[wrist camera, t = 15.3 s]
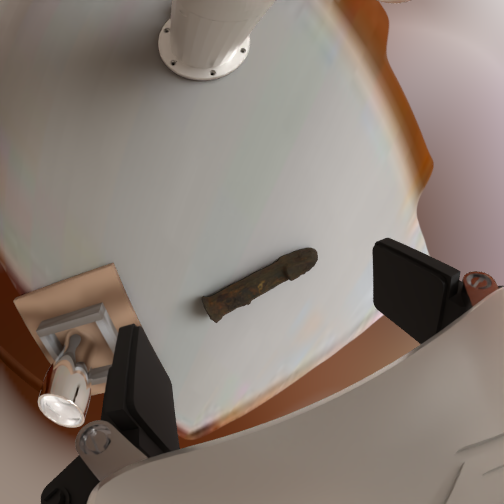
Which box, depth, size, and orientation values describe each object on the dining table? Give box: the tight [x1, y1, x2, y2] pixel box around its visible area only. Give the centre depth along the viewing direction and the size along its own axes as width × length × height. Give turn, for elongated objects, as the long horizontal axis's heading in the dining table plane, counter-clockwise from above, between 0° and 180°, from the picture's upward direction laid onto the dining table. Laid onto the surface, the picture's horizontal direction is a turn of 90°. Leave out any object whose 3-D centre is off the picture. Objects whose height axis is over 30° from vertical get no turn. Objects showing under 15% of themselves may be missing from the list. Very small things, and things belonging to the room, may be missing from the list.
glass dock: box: [14, 263, 165, 395], centre depth 37 cm, size 22×20×4 cm
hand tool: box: [202, 248, 318, 323], centre depth 42 cm, size 19×4×5 cm, turn 111°
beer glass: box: [38, 329, 98, 427], centre depth 31 cm, size 7×7×15 cm
